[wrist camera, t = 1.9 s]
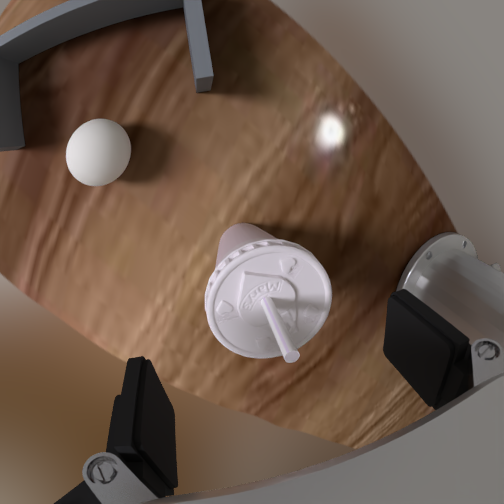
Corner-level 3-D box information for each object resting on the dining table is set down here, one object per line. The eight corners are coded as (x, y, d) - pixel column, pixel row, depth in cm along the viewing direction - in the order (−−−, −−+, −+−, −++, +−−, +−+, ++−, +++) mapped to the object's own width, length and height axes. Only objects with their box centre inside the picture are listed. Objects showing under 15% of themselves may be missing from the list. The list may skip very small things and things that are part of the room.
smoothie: (254, 188, 22) (336, 247, 9) (298, 254, 25) (393, 361, 12) (184, 238, 23) (171, 357, 10) (233, 299, 25) (270, 438, 12)
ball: (131, 114, 19) (115, 106, 15) (142, 173, 20) (128, 179, 16) (76, 131, 18) (50, 129, 14) (87, 188, 20) (63, 198, 16)
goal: (195, -5, 16) (196, -34, 12) (210, 90, 19) (213, 75, 15) (9, 59, 15) (-19, 48, 10) (16, 149, 18) (-16, 153, 13)
